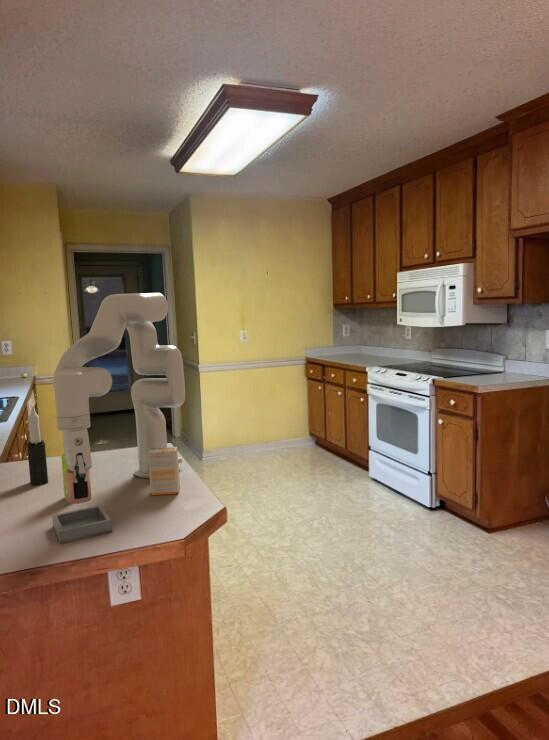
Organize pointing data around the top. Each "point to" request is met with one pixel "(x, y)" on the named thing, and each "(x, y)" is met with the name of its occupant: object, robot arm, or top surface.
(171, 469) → the supplement box
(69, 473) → the cup
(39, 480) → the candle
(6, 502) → the top surface
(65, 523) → the tray
